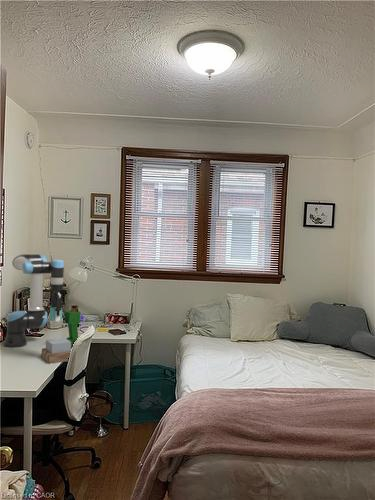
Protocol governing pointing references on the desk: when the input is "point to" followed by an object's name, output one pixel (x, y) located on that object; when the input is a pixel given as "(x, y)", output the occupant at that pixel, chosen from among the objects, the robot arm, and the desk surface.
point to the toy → (72, 323)
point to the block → (52, 314)
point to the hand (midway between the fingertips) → (55, 319)
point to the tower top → (58, 345)
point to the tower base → (55, 356)
